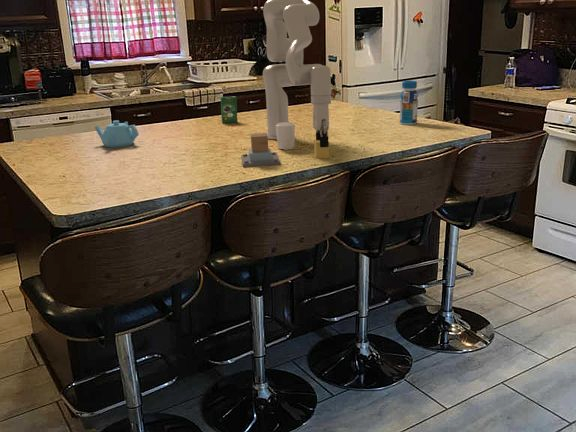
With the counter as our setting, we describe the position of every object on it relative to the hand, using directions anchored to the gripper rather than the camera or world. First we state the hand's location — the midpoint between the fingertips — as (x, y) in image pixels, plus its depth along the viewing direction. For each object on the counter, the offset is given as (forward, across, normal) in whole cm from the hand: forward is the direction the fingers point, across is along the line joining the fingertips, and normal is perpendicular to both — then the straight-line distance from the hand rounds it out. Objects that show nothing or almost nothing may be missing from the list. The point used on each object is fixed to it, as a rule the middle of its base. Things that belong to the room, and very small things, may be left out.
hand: (322, 144), depth 233 cm
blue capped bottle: (+4, -56, +51) cm, 75 cm away
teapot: (+4, -45, -84) cm, 95 cm away
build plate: (+5, +1, -24) cm, 25 cm away
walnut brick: (0, +2, -24) cm, 24 cm away
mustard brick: (+5, -1, 0) cm, 5 cm away
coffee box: (+3, -85, -34) cm, 91 cm away
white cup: (+4, -19, -12) cm, 23 cm away
